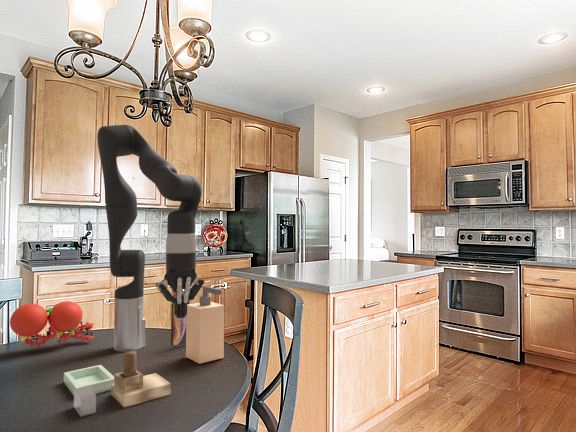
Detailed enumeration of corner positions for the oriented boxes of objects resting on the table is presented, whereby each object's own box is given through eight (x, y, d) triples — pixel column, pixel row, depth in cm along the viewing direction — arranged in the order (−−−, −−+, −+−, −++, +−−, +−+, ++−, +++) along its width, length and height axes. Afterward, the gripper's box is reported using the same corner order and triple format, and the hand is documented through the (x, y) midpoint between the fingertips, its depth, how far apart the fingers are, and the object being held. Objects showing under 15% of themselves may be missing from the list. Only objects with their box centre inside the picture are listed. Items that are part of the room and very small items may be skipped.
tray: (100, 373, 107) (100, 364, 107) (116, 388, 97) (116, 378, 97) (63, 382, 101) (63, 372, 101) (76, 399, 91) (76, 388, 91)
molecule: (12, 359, 119) (13, 308, 119) (6, 351, 127) (7, 303, 127) (99, 342, 136) (99, 298, 136) (89, 336, 144) (89, 294, 144)
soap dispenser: (185, 356, 121) (186, 286, 122) (209, 351, 127) (210, 283, 128) (206, 367, 112) (206, 291, 112) (231, 361, 117) (231, 288, 118)
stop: (88, 403, 89) (88, 386, 89) (95, 413, 84) (96, 394, 85) (73, 407, 87) (74, 389, 87) (80, 417, 82) (80, 398, 83)
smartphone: (171, 347, 131) (172, 302, 131) (170, 347, 131) (170, 302, 131) (189, 342, 136) (190, 299, 137) (188, 341, 137) (188, 299, 137)
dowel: (133, 383, 94) (133, 350, 94) (138, 386, 92) (138, 353, 92) (121, 386, 92) (121, 353, 92) (126, 390, 90) (126, 356, 90)
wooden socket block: (155, 384, 101) (155, 361, 101) (170, 395, 94) (170, 371, 94) (111, 396, 94) (111, 371, 94) (124, 410, 87) (124, 382, 87)
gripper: (197, 249, 109) (196, 311, 108) (150, 251, 100) (149, 319, 99) (210, 250, 103) (210, 316, 103) (162, 252, 94) (161, 324, 94)
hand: (180, 317), depth 101 cm, fingers closed
